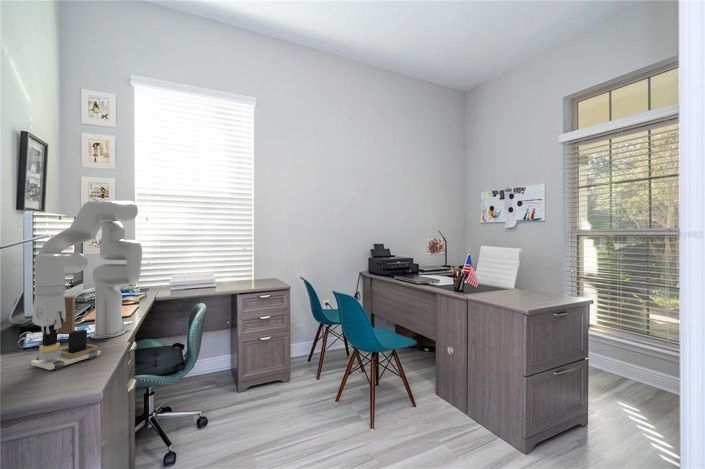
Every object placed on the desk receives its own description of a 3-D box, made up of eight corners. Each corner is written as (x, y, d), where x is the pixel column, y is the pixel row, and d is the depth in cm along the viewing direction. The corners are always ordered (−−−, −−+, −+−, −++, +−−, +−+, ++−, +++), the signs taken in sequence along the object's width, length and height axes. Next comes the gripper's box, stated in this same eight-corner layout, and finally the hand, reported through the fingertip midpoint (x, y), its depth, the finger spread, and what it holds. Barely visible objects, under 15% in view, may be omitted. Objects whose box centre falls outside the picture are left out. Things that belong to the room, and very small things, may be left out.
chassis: (82, 352, 122) (82, 338, 122) (100, 356, 118) (100, 342, 118) (30, 367, 108) (31, 352, 108) (49, 372, 104) (50, 357, 104)
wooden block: (43, 342, 132) (44, 299, 132) (47, 339, 136) (48, 297, 136) (71, 339, 136) (72, 297, 136) (75, 336, 140) (75, 295, 140)
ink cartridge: (86, 350, 118) (87, 328, 118) (86, 352, 116) (87, 330, 116) (68, 353, 115) (69, 330, 115) (68, 355, 113) (68, 332, 113)
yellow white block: (54, 354, 111) (54, 341, 111) (63, 356, 109) (63, 343, 109) (36, 359, 107) (36, 346, 107) (44, 362, 105) (44, 348, 105)
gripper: (23, 290, 107) (22, 345, 107) (49, 294, 102) (48, 351, 102) (51, 287, 114) (50, 338, 114) (76, 290, 109) (76, 344, 109)
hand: (49, 344), depth 108 cm, fingers closed
